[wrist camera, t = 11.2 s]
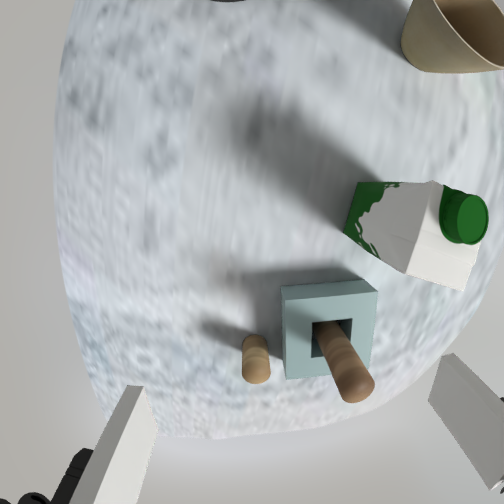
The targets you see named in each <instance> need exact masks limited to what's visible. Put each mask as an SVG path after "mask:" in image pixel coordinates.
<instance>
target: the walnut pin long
mask: <svg viewBox="0 0 504 504" xmlns="http://www.w3.org/2000/svg"><path fill="white" fill-rule="evenodd" d="M312 330H313V332H314V334H315V337H316V339H317V341H318V344H319V346H320V348H321V350H322V353H323V355H324V357H325V360H326V362H327V364H328V367H329V369H330V371H331V374H332V376H333V378H334V381H335V383H336V385H337V388H338V390H339V392H340V395H341V397H342V399H343V400H344V401H345V402H348V403H357V402H360V401H362V400H364V399H366V398H367V397H368V396H369V395H370V394H371V393H372V391H373V389H374V386H375V383H374V380H373V378H372V377H371V375H370V374H369V372H368V370H367V369H366V367H365V365H364V364H363V362H362V360H361V359H360V357H359V356H358V354H357V352H356V351H355V349H354V348H353V346H352V344H351V343H350V341H349V340H348V338H347V336H346V335H345V333H344V332H343V330H342V328H341V327H340V325H339V324H338V322H337V321H336V320H331V321H321V322H312Z"/></svg>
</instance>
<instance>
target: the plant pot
mask: <svg viewBox="0 0 504 504" xmlns="http://www.w3.org/2000/svg"><path fill="white" fill-rule="evenodd" d="M401 48H402V51H403V53H404V55H405V57H406V58H407V59H408V61H409V62H410V63H411V64H412V65H413V66H415V67H416V68H418V69H419V70H422V71H425V72H432V73H477V72H486V71H494V70H502V69H504V14H503V12H502V11H501V9H500V8H499V6H498V5H497V4H496V3H495V1H494V0H413V2H412V4H411V7H410V9H409V12H408V14H407V17H406V21H405V24H404V28H403V32H402V37H401Z"/></svg>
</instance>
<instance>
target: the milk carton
mask: <svg viewBox="0 0 504 504" xmlns="http://www.w3.org/2000/svg"><path fill="white" fill-rule="evenodd" d="M488 221H489V216H488V209H487V206H486V204H485V202H484V201H483V200H482V199H481V198H480V197H479V196H476V195H472V194H466V193H464V192H462V191H459V190H455V189H451V188H449V187H448V186H446V185H441V184H439V183H437V182H435V181H433V180H432V181H429V182H426V183H407V182H358V184H357V187H356V191H355V194H354V198H353V201H352V205H351V208H350V212H349V215H348V218H347V222H346V225H345V228H344V231H343V233H344V234H345V235H347V236H348V237H349V238H351V239H352V240H353V241H355V242H356V243H357V244H358V245H360V246H361V247H362V248H363V249H365V250H366V251H367V252H369V253H371V254H372V255H374V256H375V257H377V258H379V259H380V260H382V261H383V262H385V263H387V264H388V265H390V266H391V267H393V268H394V269H396V270H398V271H399V272H401V273H403V274H407V275H410V276H413V277H417V278H420V279H423V280H426V281H430V282H433V283H436V284H440V285H443V286H446V287H450V288H453V289H457V290H460V291H464V288H465V286H466V283H467V280H468V277H469V275H470V272H471V269H472V266H474V264H475V262H476V258H477V253H478V250H479V247H480V243H481V240H482V238H483V237H484V235H485V233H486V231H487V227H488Z"/></svg>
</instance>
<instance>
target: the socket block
mask: <svg viewBox="0 0 504 504" xmlns="http://www.w3.org/2000/svg"><path fill="white" fill-rule="evenodd" d="M377 297H378V291H377V290H376V289H375V288H373V287H372V286H371V285H370V284H369V283H368V282H367V281H365V280H364V279H363V280H352V281H341V282H329V283H317V284H304V285H291V286H281V310H282V360H283V366H284V371H285V376H286V380H288V379H298V378H308V377H316V376H324V375H332V374H331V371H330V369H329V367H328V364H327V362H326V360H325V357H324V355H323V353H322V350H321V348H320V346H319V344H318V341H317V339H312V322H321V321H331V320H340V319H341V323H340V327H341V328H342V330H343V332H344V333H345V335H346V336H347V338H348V340H349V341H350V343H351V344H352V346H353V348H354V349H355V351H356V352H357V354H358V356H359V357H360V359H361V360H362V362H363V364H364V365H365V367H366V369H368V368H369V362H370V355H371V349H372V342H373V334H374V326H375V317H376V307H377Z"/></svg>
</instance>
